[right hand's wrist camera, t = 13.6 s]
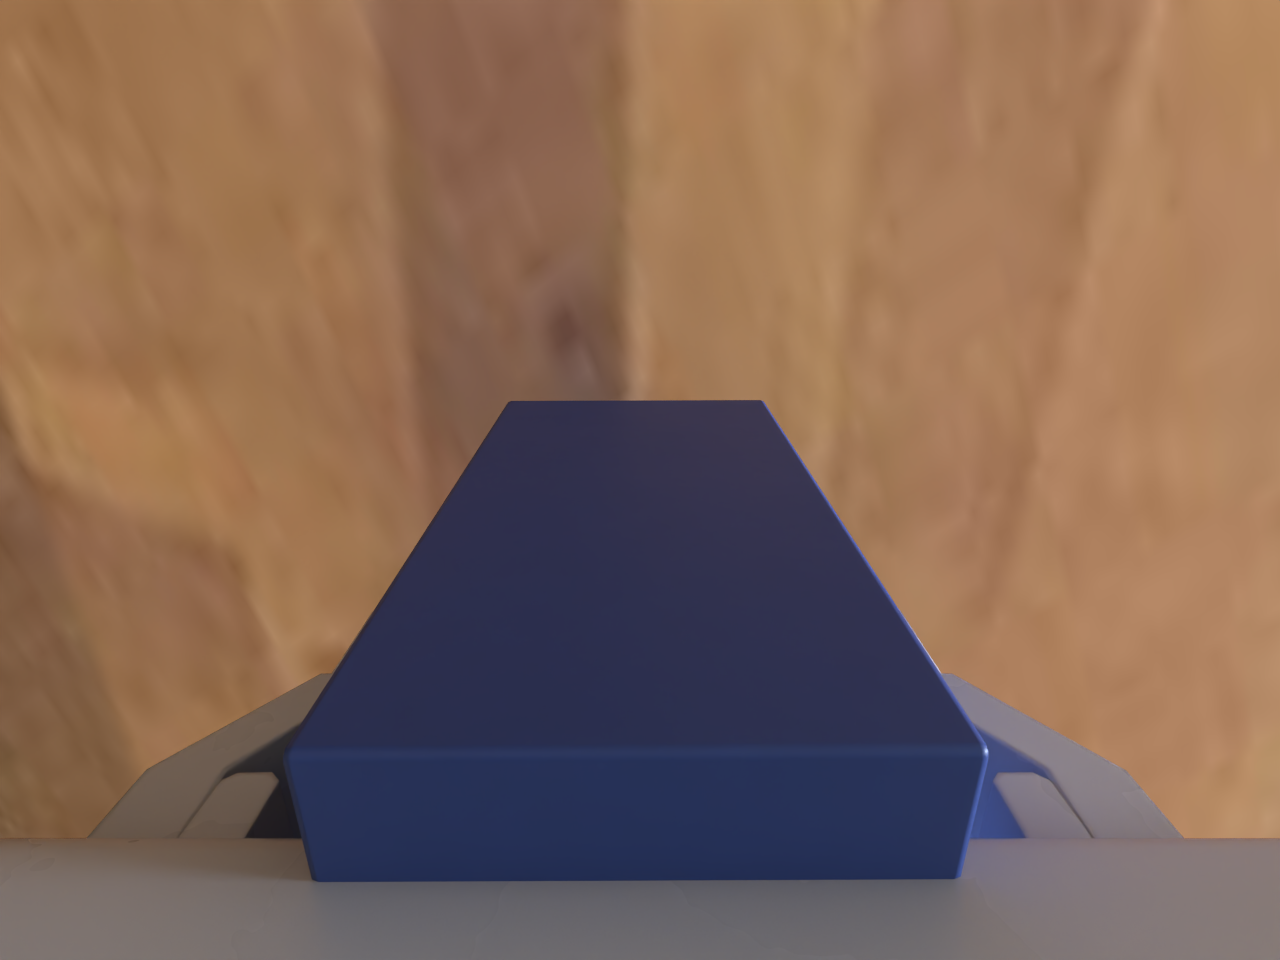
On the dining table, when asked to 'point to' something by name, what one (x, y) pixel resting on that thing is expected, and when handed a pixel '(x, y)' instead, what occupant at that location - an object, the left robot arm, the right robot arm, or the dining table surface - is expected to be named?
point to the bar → (635, 676)
